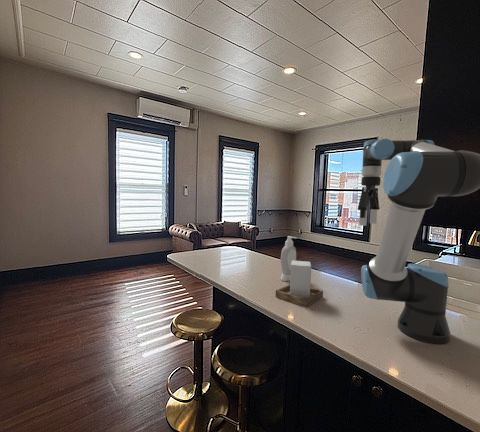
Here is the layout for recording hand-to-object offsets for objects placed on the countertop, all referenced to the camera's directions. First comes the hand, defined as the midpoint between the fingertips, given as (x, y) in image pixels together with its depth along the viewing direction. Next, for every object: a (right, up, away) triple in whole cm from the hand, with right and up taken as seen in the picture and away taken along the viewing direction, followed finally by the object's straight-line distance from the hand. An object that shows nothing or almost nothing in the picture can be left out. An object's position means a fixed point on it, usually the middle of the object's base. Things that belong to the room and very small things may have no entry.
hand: (368, 224), depth 117 cm
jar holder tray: (-30, -34, +4) cm, 45 cm away
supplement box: (-30, -33, +4) cm, 44 cm away
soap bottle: (-30, -32, +29) cm, 52 cm away
